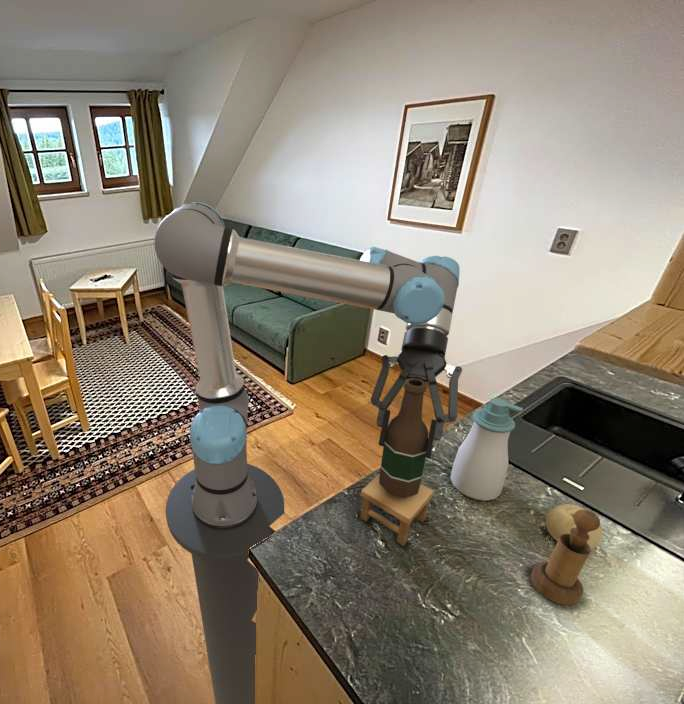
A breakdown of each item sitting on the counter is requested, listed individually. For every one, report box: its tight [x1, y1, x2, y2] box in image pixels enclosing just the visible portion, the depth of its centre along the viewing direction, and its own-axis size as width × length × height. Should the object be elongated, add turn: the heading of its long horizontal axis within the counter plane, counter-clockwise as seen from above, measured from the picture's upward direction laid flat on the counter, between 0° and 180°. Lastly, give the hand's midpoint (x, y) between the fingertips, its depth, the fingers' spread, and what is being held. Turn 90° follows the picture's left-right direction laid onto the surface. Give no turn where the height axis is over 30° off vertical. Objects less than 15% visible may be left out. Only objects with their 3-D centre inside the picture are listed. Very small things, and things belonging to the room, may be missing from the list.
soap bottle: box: [450, 397, 524, 502], centre depth 85 cm, size 10×10×23 cm
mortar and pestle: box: [530, 508, 601, 607], centre depth 65 cm, size 7×6×18 cm
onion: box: [544, 503, 603, 550], centre depth 75 cm, size 8×8×8 cm
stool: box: [359, 472, 435, 547], centre depth 82 cm, size 10×10×8 cm
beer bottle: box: [379, 378, 429, 498], centre depth 74 cm, size 8×8×24 cm
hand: (403, 450), depth 72 cm, fingers closed on beer bottle, 7 cm apart
